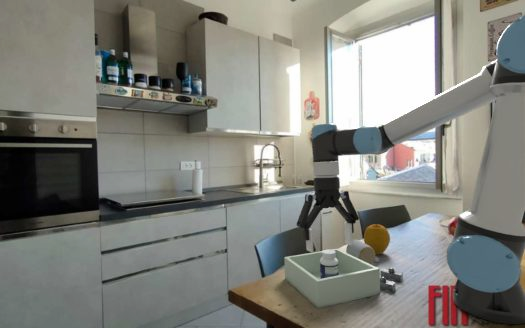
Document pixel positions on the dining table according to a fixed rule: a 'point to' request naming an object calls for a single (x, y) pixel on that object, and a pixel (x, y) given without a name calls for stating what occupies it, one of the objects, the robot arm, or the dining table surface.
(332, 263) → the pill bottle
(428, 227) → the dining table surface
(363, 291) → the bin
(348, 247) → the ceramic mug
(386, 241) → the orange
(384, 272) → the bracket
